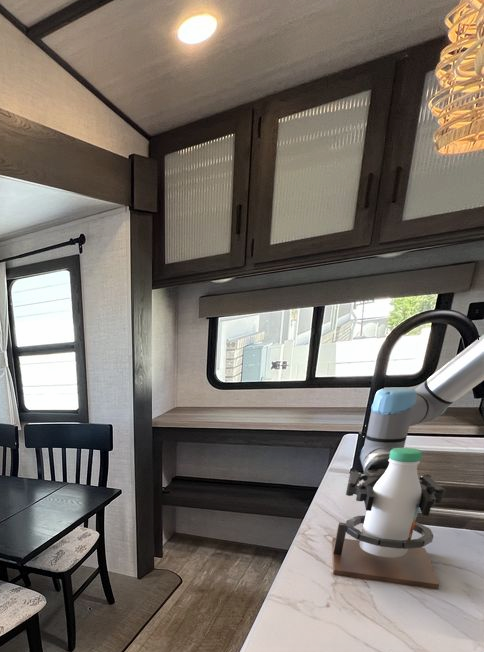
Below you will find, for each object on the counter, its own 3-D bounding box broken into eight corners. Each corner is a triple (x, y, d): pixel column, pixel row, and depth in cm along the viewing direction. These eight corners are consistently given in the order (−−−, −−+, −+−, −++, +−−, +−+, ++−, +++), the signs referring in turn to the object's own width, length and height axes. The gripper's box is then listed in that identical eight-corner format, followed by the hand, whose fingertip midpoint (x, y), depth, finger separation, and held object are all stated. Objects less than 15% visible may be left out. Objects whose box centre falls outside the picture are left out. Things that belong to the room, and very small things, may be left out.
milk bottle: (397, 562, 87) (425, 458, 79) (351, 549, 93) (373, 451, 85) (413, 549, 91) (441, 448, 83) (368, 538, 97) (390, 442, 89)
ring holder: (423, 551, 95) (433, 517, 92) (438, 589, 83) (450, 551, 80) (331, 541, 103) (338, 509, 100) (333, 574, 90) (340, 538, 87)
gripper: (440, 490, 98) (467, 532, 80) (327, 482, 108) (327, 518, 90) (450, 455, 95) (480, 491, 77) (332, 451, 105) (334, 481, 87)
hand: (398, 506), depth 84 cm, fingers closed on milk bottle, 8 cm apart
